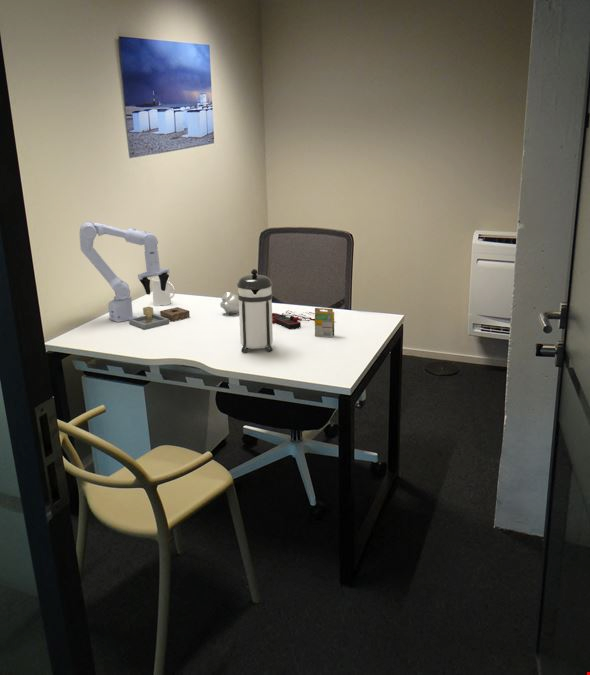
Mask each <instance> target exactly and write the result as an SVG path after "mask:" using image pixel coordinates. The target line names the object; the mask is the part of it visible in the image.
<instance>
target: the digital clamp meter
mask: <svg viewBox="0 0 590 675" xmlns="http://www.w3.org/2000/svg"><path fill="white" fill-rule="evenodd" d="M308 312H309V313H310V314H313V315H314V314H315V312H312V311H308ZM284 313H289V315H288V314H284ZM291 313H292V312H288V310H287V311H285V312H282V313H281V314H280V313H277V312H272V324H276V323H277V324H276V325H278V326H280V325H281V326H280V327H283V328H285V329H287V330H297V329H299V327H300V328H301V326H302V325H301V323H302V321H306V322H310V321H313V322H315V318H314V319H311V318H312V317H310V318H308V317H306V315H305V314H303V313H300V314H301V315H302V316H301V315H298V314H294V313H293V314H291ZM309 313H308V314H309ZM306 319H307V320H306ZM296 328H297V329H296Z"/></svg>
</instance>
